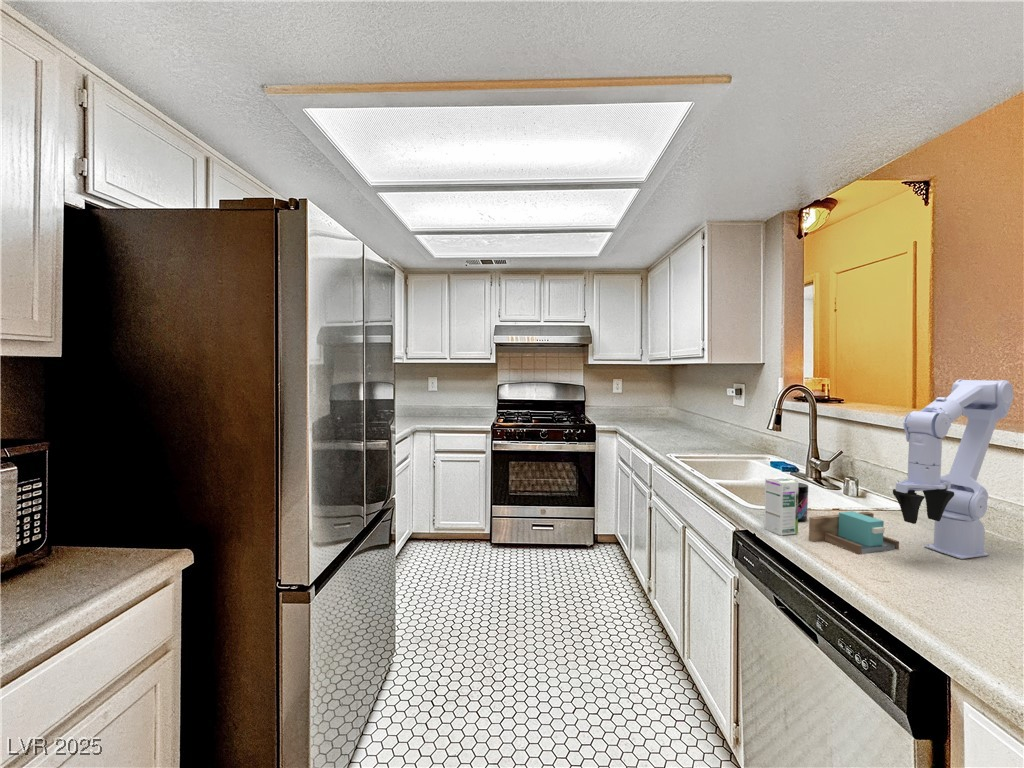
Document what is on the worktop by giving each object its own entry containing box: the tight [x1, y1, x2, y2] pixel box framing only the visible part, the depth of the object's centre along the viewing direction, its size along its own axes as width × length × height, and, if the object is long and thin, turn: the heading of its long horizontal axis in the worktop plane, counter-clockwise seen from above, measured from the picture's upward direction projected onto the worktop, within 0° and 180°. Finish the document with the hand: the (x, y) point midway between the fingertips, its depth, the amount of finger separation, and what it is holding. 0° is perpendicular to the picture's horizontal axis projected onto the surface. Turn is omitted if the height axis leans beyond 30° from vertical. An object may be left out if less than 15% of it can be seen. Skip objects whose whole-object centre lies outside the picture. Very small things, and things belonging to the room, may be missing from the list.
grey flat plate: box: [835, 535, 895, 554], centre depth 118 cm, size 11×9×1 cm
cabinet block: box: [838, 511, 885, 547], centre depth 117 cm, size 4×9×6 cm, turn 15°
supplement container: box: [798, 481, 809, 523], centre depth 138 cm, size 7×7×10 cm
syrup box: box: [764, 477, 799, 537], centre depth 127 cm, size 6×6×14 cm
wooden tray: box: [808, 511, 900, 555], centre depth 118 cm, size 20×10×6 cm, turn 105°
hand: (922, 521), depth 108 cm, fingers open, 7 cm apart
